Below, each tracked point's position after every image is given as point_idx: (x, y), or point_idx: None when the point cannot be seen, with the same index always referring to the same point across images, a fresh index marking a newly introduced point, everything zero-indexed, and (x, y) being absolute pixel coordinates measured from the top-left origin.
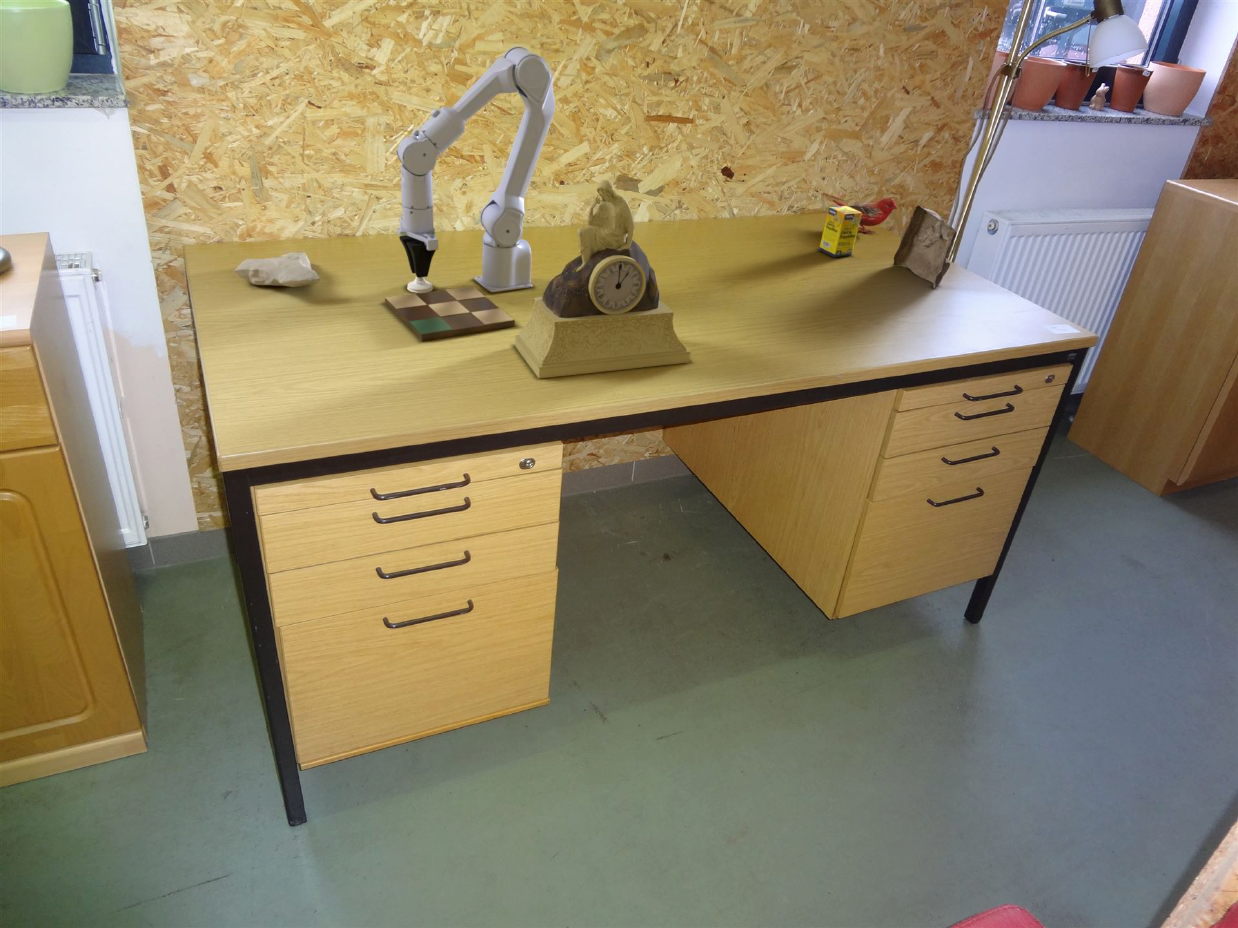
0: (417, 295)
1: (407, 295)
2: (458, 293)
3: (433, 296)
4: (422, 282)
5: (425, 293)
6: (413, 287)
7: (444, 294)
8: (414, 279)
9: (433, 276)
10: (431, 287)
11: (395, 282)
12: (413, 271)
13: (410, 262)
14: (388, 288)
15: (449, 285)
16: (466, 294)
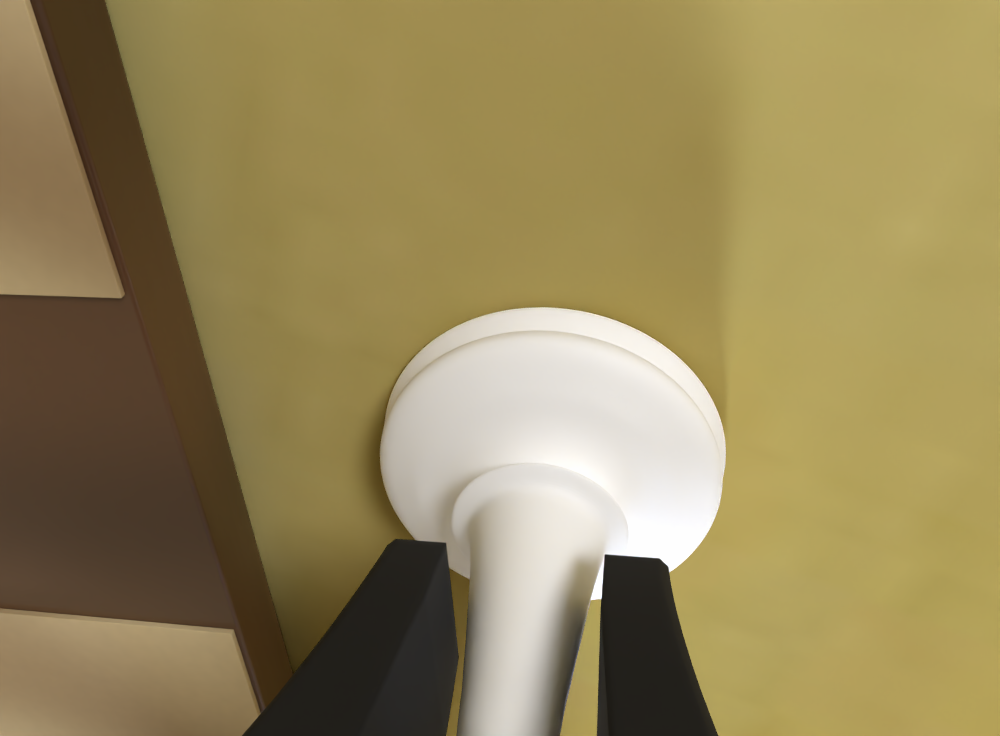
0: (63, 306)
1: (38, 170)
2: (102, 681)
3: (35, 461)
4: (455, 533)
5: (135, 422)
6: (450, 382)
7: (96, 576)
8: (606, 495)
9: (877, 702)
10: None
11: (954, 259)
12: (605, 589)
13: (606, 713)
14: (752, 50)
15: None
16: (76, 718)
